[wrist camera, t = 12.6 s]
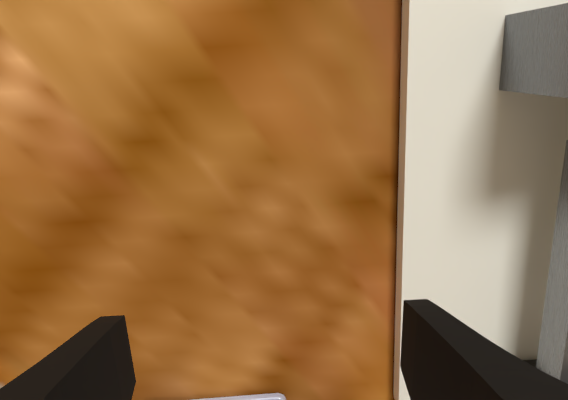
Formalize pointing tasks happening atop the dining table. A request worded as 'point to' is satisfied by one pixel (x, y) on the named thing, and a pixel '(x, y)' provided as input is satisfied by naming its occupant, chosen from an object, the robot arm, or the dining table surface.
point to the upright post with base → (556, 294)
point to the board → (474, 176)
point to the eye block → (536, 52)
